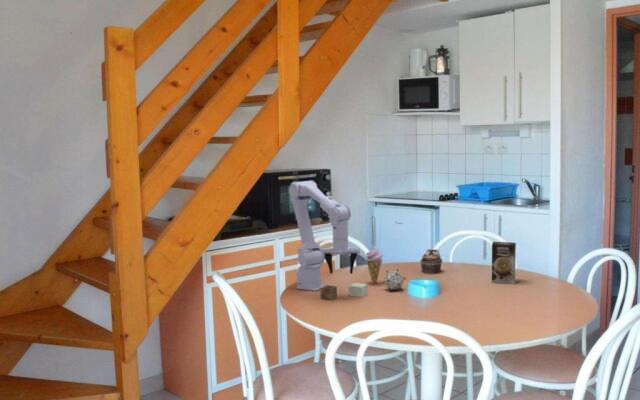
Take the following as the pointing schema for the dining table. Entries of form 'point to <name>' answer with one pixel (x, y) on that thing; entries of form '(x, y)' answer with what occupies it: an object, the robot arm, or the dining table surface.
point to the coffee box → (503, 262)
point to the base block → (358, 290)
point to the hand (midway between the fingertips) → (341, 273)
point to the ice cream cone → (374, 264)
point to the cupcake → (431, 262)
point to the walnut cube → (329, 292)
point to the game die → (394, 280)
